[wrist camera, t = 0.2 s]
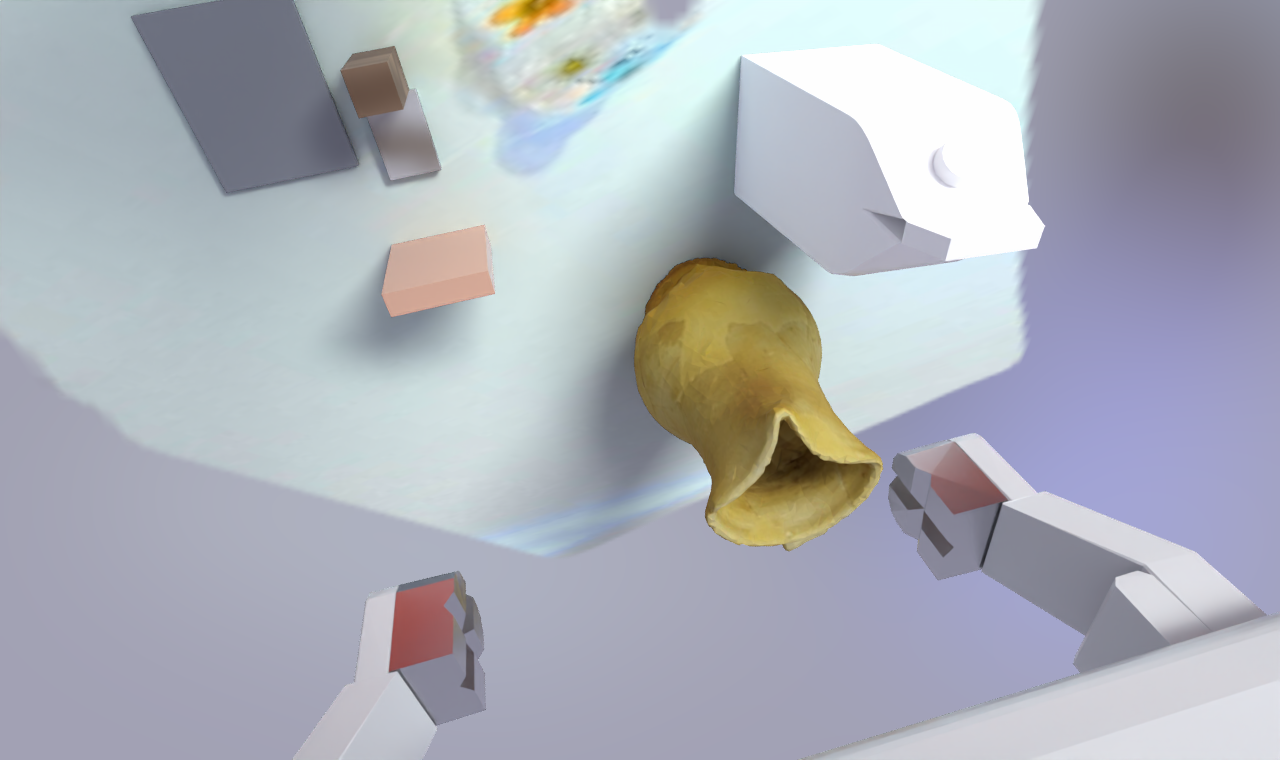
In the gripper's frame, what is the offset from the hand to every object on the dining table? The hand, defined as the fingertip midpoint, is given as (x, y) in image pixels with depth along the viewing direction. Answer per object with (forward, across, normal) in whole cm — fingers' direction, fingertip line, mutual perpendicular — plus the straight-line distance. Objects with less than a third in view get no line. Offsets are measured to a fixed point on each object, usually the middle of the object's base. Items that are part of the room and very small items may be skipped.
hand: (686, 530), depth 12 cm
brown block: (+47, +10, +2) cm, 48 cm away
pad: (+47, +19, -1) cm, 51 cm away
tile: (+47, +10, +13) cm, 50 cm away
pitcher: (+47, -12, +27) cm, 56 cm away
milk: (+47, -23, +9) cm, 54 cm away
